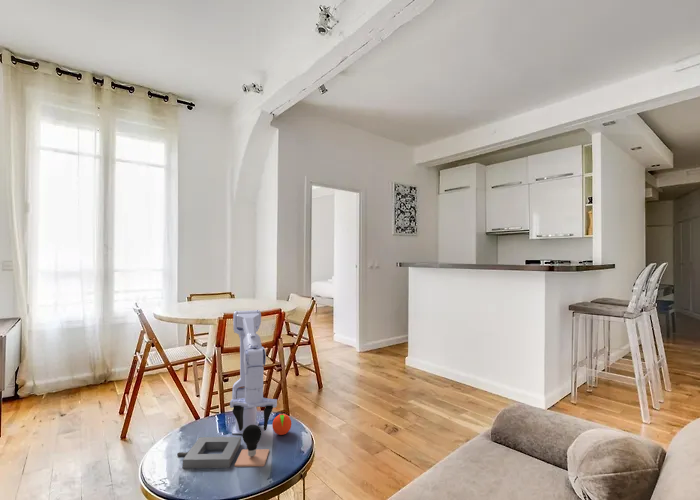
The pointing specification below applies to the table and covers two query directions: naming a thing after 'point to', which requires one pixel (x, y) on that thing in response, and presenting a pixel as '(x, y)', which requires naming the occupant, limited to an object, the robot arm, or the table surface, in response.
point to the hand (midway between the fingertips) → (253, 429)
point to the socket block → (201, 460)
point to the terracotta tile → (252, 458)
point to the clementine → (281, 424)
